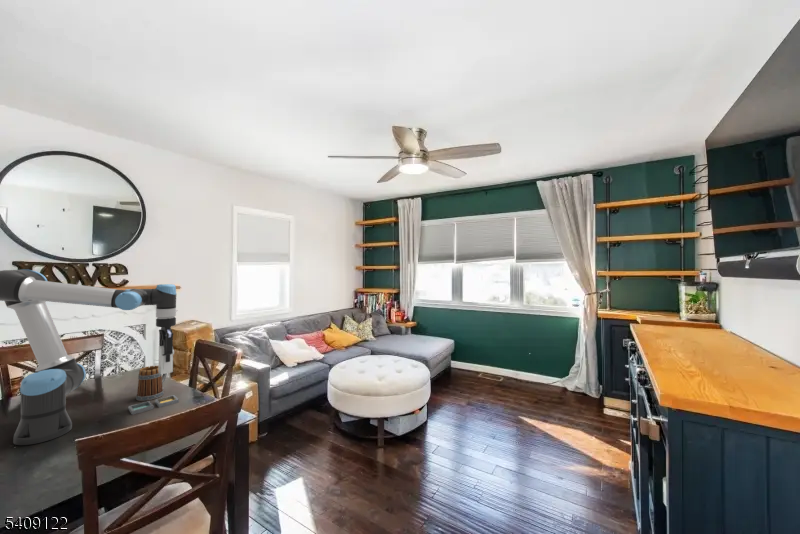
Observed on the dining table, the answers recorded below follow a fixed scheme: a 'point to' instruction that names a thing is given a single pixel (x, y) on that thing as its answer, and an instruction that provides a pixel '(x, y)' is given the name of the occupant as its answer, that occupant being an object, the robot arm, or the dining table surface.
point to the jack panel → (149, 406)
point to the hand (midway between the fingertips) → (165, 367)
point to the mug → (150, 384)
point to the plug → (160, 367)
